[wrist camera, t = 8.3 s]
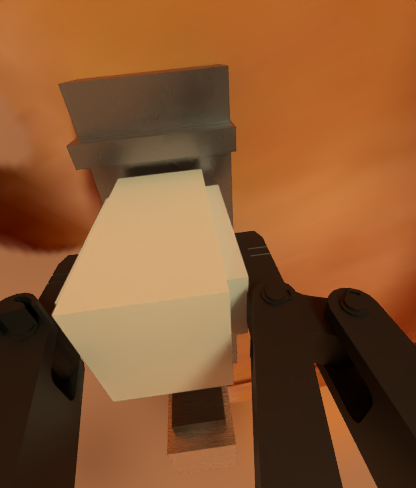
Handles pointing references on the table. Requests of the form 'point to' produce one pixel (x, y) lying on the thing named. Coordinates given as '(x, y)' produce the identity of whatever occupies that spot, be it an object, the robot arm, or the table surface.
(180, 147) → the rail
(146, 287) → the cream rectangular block
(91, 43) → the table surface
